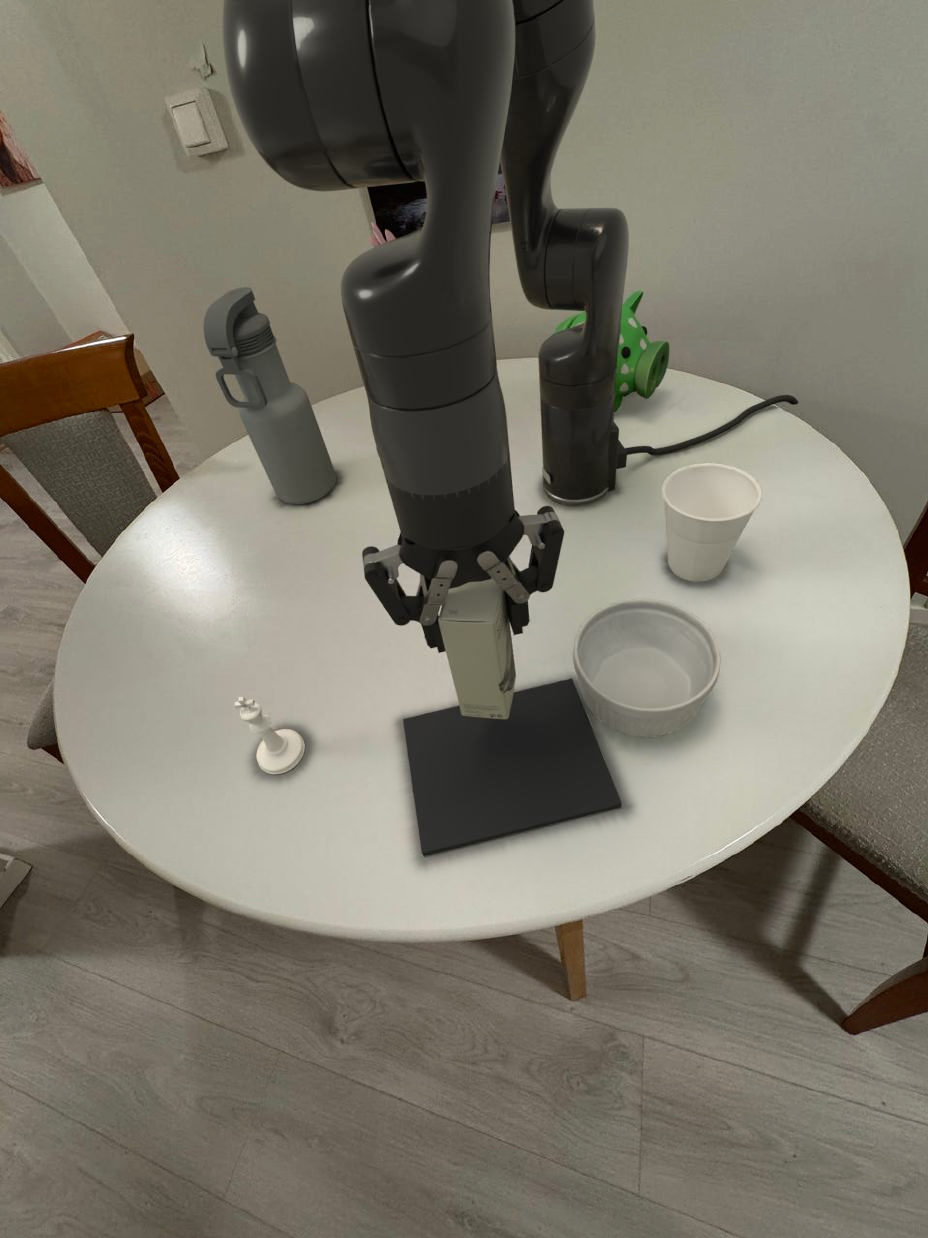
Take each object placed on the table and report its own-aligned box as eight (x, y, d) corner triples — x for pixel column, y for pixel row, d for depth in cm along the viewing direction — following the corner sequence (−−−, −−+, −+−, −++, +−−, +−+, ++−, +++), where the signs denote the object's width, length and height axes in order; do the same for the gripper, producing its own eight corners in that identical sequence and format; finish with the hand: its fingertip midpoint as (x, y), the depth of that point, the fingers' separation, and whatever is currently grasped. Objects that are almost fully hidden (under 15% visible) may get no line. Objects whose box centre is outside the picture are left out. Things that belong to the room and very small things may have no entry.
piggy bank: (637, 431, 89) (647, 332, 78) (532, 412, 97) (527, 319, 86) (669, 387, 97) (681, 290, 86) (568, 372, 105) (568, 282, 93)
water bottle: (318, 511, 87) (238, 316, 66) (264, 505, 90) (172, 317, 69) (348, 471, 93) (283, 281, 72) (296, 466, 96) (220, 283, 75)
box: (509, 722, 51) (495, 626, 41) (460, 717, 52) (435, 622, 42) (517, 672, 54) (506, 573, 44) (471, 669, 55) (450, 571, 45)
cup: (745, 546, 70) (768, 469, 62) (732, 604, 65) (755, 527, 57) (661, 531, 74) (672, 457, 66) (642, 585, 68) (652, 511, 60)
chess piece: (262, 735, 62) (219, 680, 54) (307, 728, 62) (271, 672, 54) (254, 778, 59) (208, 726, 51) (302, 771, 58) (263, 718, 51)
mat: (572, 682, 61) (572, 677, 60) (621, 807, 51) (622, 803, 51) (404, 723, 60) (402, 718, 60) (423, 856, 51) (421, 853, 50)
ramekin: (681, 773, 53) (693, 734, 48) (550, 716, 59) (548, 676, 53) (725, 667, 59) (740, 623, 54) (603, 625, 65) (606, 582, 60)
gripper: (325, 517, 31) (396, 694, 44) (584, 457, 32) (580, 649, 44) (322, 445, 36) (386, 622, 49) (545, 394, 37) (552, 583, 49)
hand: (478, 634), depth 46 cm, fingers closed on box, 5 cm apart
